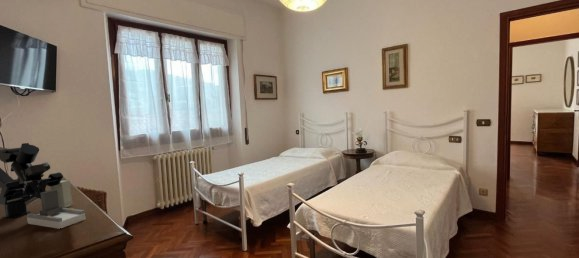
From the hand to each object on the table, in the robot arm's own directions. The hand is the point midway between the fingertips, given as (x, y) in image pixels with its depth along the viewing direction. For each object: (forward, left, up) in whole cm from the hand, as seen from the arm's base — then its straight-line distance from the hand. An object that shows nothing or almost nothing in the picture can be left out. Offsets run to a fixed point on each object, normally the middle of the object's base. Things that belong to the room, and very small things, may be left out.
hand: (44, 198), depth 111 cm
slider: (+3, -1, -6) cm, 7 cm away
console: (+6, -2, -9) cm, 11 cm away
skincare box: (-9, +16, -9) cm, 20 cm away
